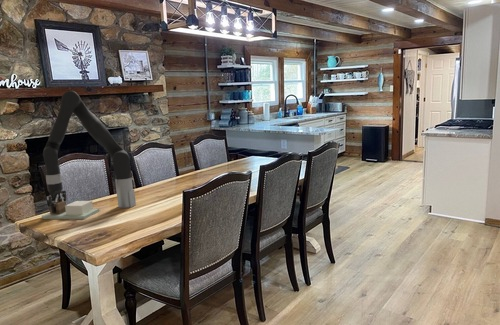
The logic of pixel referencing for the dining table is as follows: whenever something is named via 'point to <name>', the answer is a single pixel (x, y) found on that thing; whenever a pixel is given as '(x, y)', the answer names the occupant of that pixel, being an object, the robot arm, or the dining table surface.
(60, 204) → the walnut cube
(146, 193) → the dining table surface
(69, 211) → the block
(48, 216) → the serving board
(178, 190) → the dining table surface
